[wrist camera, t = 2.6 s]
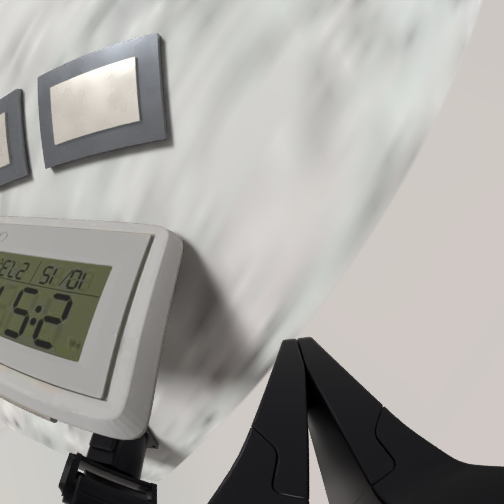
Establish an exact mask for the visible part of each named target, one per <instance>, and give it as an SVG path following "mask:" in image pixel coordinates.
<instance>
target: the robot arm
mask: <svg viewBox="0 0 504 504" xmlns="http://www.w3.org/2000/svg"><path fill="white" fill-rule="evenodd" d="M251 427H252V428H250V431H249V433H248V435H247V438H246V440H245V442H244V444H243V447H242V449H241V451H240V453H239V455H238V457H237V459H236V460H235V462H234V464H233V466H232V468H231V469H230V471H229V472H228V474H227V475H226V477H225V479H224V480H223V482H222V483H221V485H220V486H219V488H218V489H217V491H216V492H215V493H214V495H213V496H212V498H211V499H210V501H209V502H208V504H309V501H308V500H309V437H308V428H309V431H310V435H311V439H312V442H313V446H314V450H315V453H316V457H317V461H318V464H319V468H320V471H321V475H322V478H323V482H324V486H325V490H326V493H327V497H328V501H329V504H504V467H501V466H483V465H473V464H467V463H464V462H461V461H458V460H456V459H454V458H452V457H450V456H449V455H447V454H446V453H444V452H443V451H441V450H440V449H438V448H437V447H436V446H434V445H432V444H431V443H430V442H428V441H427V440H425V439H424V438H422V437H421V436H419V435H418V434H416V433H415V432H414V431H412V430H411V429H410V428H409V427H407V426H406V425H405V424H403V423H402V422H401V421H400V420H399V419H398V418H396V417H395V416H394V415H393V414H392V413H391V412H390V411H389V410H388V409H387V408H385V407H383V406H382V404H381V403H380V402H379V401H378V400H377V399H376V398H375V397H374V396H372V395H371V394H370V393H369V392H368V391H367V390H366V389H365V388H364V387H363V386H362V385H361V384H360V383H359V382H357V380H355V379H354V378H353V377H352V376H351V375H350V374H349V373H348V372H347V371H346V370H345V369H344V368H343V367H342V366H340V364H339V363H338V362H337V361H335V360H334V359H333V358H332V357H331V356H330V355H329V354H328V353H327V352H326V351H325V350H324V349H323V348H322V347H321V346H320V345H319V344H318V343H317V342H316V341H315V340H314V339H313V338H311V337H304V338H298V339H297V340H296V339H286V340H283V341H282V344H281V347H280V350H279V352H278V355H277V358H276V361H275V364H274V367H273V370H272V373H271V375H270V378H269V381H268V384H267V386H266V389H265V392H264V394H263V397H262V400H261V402H260V405H259V408H258V410H257V413H256V415H255V418H254V421H253V423H252V426H251ZM89 445H90V447H89V450H88V453H87V456H86V457H85V456H82V454H80V453H78V452H77V455H76V454H72V453H69V456H68V459H67V462H66V465H65V468H64V471H63V473H62V476H61V480H60V483H59V488H60V490H61V492H62V496H63V500H62V502H63V503H65V504H157V485H156V484H154V483H148V482H145V481H142V480H140V477H141V472H142V467H143V462H144V457H145V453H146V448H155V449H157V448H158V447H159V444H158V443H157V442H156V440H155V439H154V438H153V436H152V435H151V433H150V432H149V431H148V429H146V432H145V433H144V434H143V435H142V436H141V437H140V438H137V439H134V440H121V439H115V438H111V437H107V436H104V435H100V434H97V433H94V432H93V435H92V437H91V440H90V443H89ZM78 469H80V470H82V471H84V473H81V472H79V471H77V470H78Z"/></svg>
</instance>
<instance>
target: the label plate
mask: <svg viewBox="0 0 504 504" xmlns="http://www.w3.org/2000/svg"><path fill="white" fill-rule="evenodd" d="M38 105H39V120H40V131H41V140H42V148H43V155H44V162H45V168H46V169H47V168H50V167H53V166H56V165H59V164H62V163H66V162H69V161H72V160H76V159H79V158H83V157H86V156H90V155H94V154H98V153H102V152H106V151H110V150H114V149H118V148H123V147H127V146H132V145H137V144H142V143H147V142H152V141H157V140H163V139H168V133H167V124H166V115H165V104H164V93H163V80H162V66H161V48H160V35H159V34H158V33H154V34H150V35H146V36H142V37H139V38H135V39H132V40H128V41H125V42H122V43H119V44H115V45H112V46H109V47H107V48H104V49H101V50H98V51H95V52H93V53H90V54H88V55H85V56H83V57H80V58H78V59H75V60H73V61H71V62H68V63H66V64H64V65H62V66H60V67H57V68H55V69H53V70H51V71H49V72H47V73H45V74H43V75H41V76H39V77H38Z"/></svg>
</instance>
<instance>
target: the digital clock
mask: <svg viewBox="0 0 504 504" xmlns="http://www.w3.org/2000/svg"><path fill="white" fill-rule="evenodd" d="M182 255H183V241H182V239H181V238H180V237H179V236H178V235H176V234H174V233H173V232H171V231H169V230H168V229H166V228H164V227H161V226H156V225H147V224H136V223H123V222H108V221H92V220H75V219H57V218H37V217H15V216H0V397H1V398H3V399H4V400H6V401H8V402H10V403H12V404H14V405H16V406H18V407H20V408H22V409H24V410H26V411H28V412H30V413H33V414H35V415H37V416H39V417H42V418H44V419H46V420H49V421H51V422H54V423H56V422H57V420H59V421H61V422H64V423H67V424H69V425H72V426H75V427H78V428H81V429H84V430H87V431H90V432H94V433H97V434H100V435H104V436H107V437H111V438H115V439H121V440H134V439H137V438H140V437H141V436H142V435H143V434H144V433H145V432H146V429H147V427H148V424H149V420H150V416H151V410H152V405H153V400H154V393H155V387H156V381H157V375H158V369H159V364H160V358H161V353H162V347H163V342H164V337H165V332H166V327H167V322H168V317H169V312H170V308H171V303H172V299H173V294H174V290H175V285H176V281H177V277H178V273H179V268H180V264H181V260H182Z"/></svg>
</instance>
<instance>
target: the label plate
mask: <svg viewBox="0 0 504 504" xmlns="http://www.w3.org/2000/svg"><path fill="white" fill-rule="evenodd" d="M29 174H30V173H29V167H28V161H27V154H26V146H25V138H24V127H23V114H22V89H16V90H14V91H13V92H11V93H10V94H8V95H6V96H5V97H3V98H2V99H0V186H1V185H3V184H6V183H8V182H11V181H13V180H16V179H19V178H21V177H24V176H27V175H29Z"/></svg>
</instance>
